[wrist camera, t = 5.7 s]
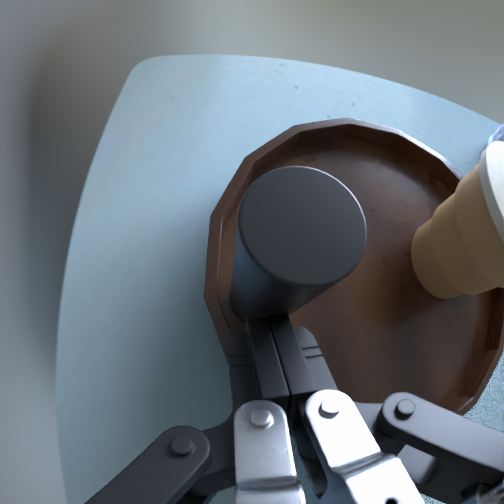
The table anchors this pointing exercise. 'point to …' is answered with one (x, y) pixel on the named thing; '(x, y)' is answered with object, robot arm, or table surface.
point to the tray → (384, 281)
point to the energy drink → (497, 136)
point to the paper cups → (465, 234)
